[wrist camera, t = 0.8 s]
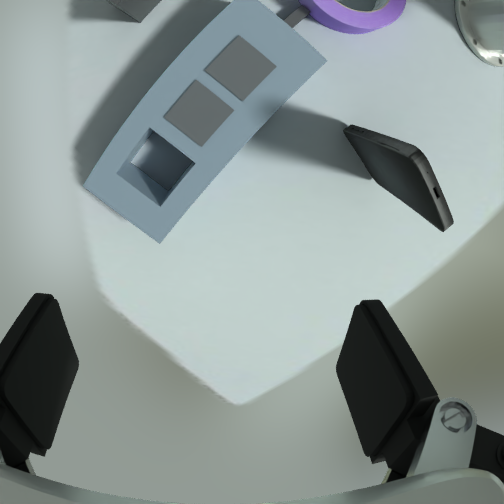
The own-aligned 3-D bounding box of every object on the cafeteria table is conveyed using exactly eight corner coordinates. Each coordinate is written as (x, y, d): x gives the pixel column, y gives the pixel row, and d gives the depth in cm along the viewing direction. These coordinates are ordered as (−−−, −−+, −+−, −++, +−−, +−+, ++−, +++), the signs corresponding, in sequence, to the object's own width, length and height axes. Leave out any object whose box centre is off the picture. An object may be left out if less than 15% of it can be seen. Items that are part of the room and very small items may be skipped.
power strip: (268, -18, 24) (275, -35, 19) (337, 42, 28) (355, 35, 23) (100, 173, 32) (81, 186, 28) (167, 224, 36) (159, 244, 31)
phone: (381, 176, 35) (456, 228, 22) (374, 182, 35) (447, 236, 22) (347, 122, 32) (422, 147, 19) (339, 128, 32) (410, 155, 19)
